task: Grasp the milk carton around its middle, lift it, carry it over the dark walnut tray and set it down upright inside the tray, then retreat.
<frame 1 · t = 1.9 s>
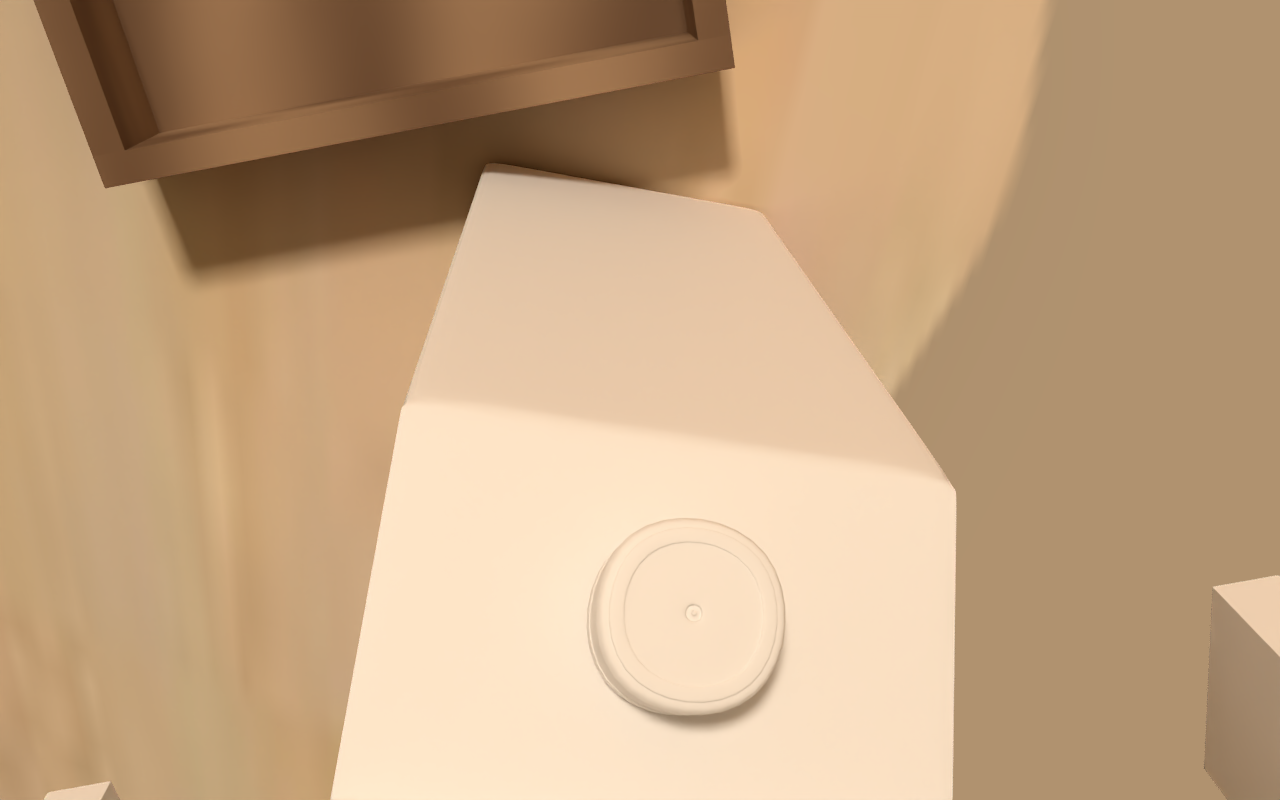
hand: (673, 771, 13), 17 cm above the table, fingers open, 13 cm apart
milk carton: (601, 314, 29), on the table
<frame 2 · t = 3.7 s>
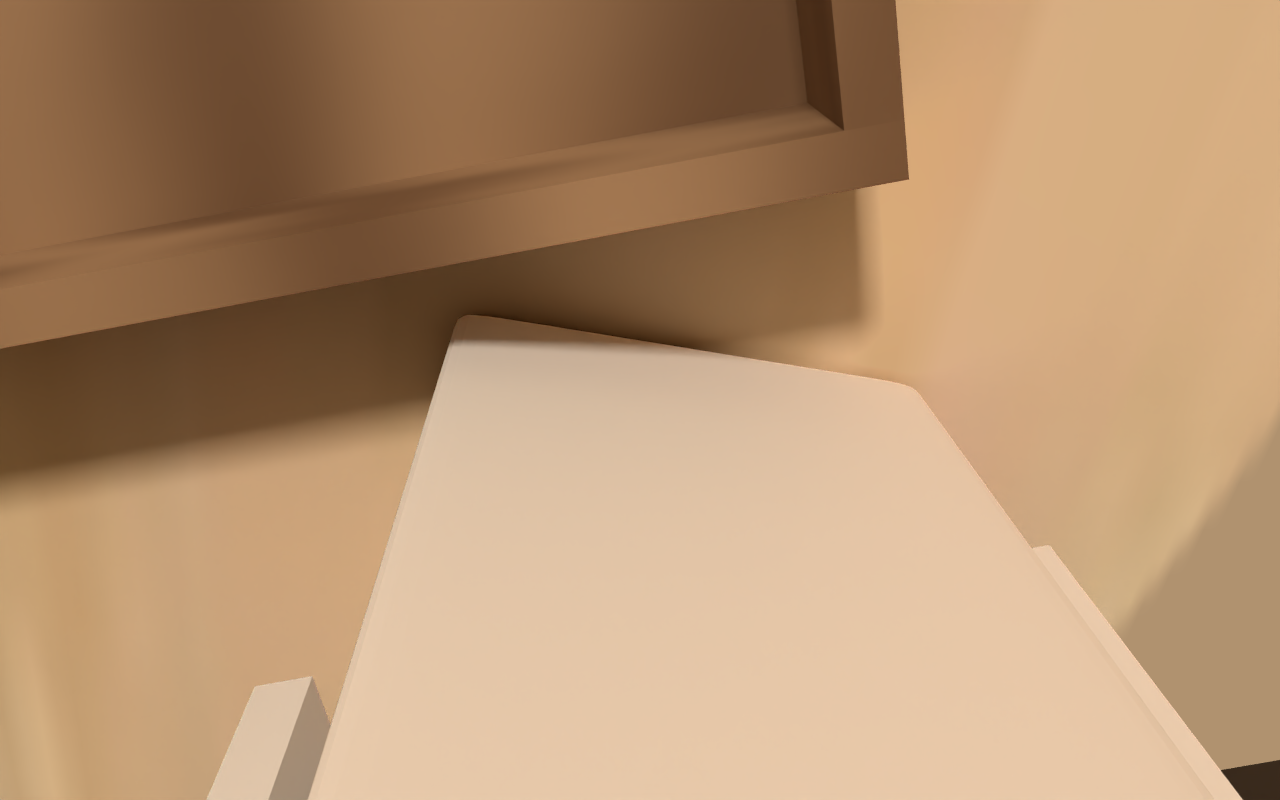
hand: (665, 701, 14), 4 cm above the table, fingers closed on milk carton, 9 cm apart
milk carton: (647, 537, 18), on the table, touching gripper
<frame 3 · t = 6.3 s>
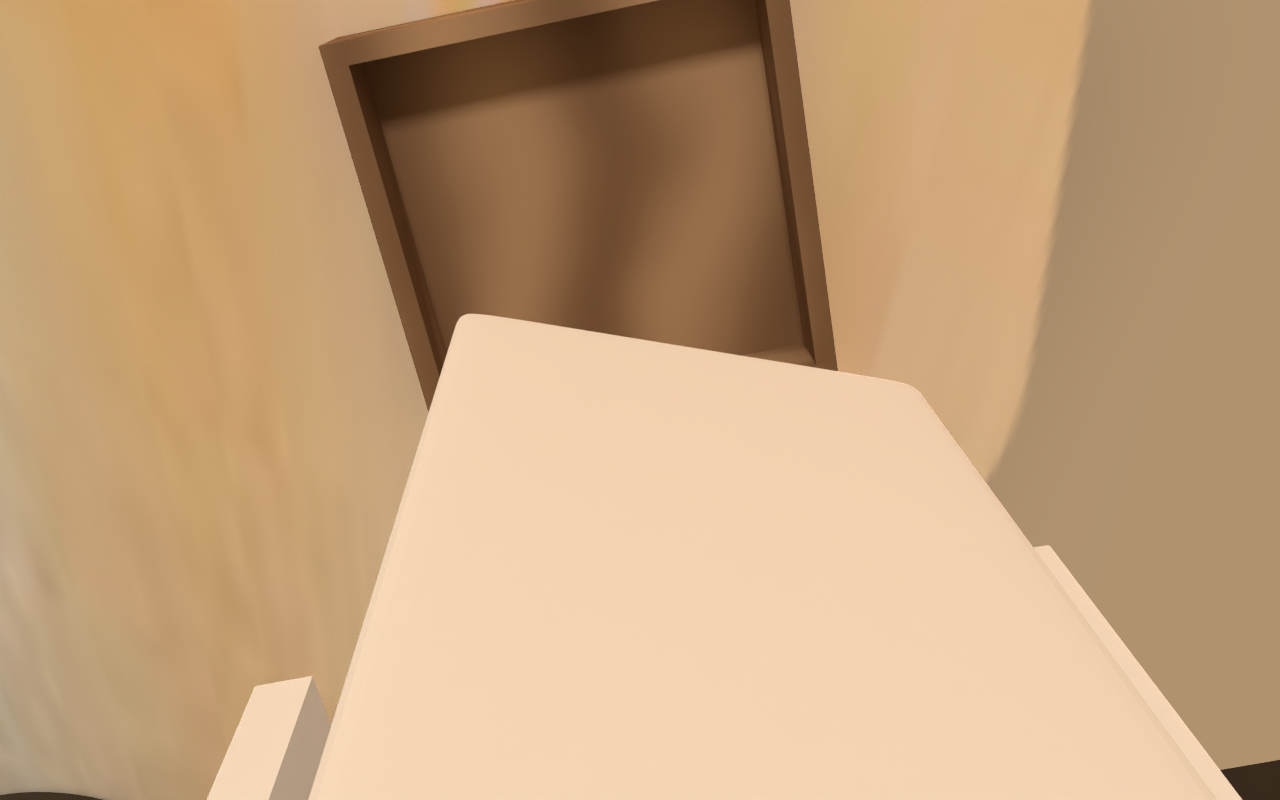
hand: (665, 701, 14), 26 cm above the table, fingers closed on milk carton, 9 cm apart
milk carton: (648, 536, 18), point 21 cm above the table, touching gripper
tray: (596, 205, 37), on the table
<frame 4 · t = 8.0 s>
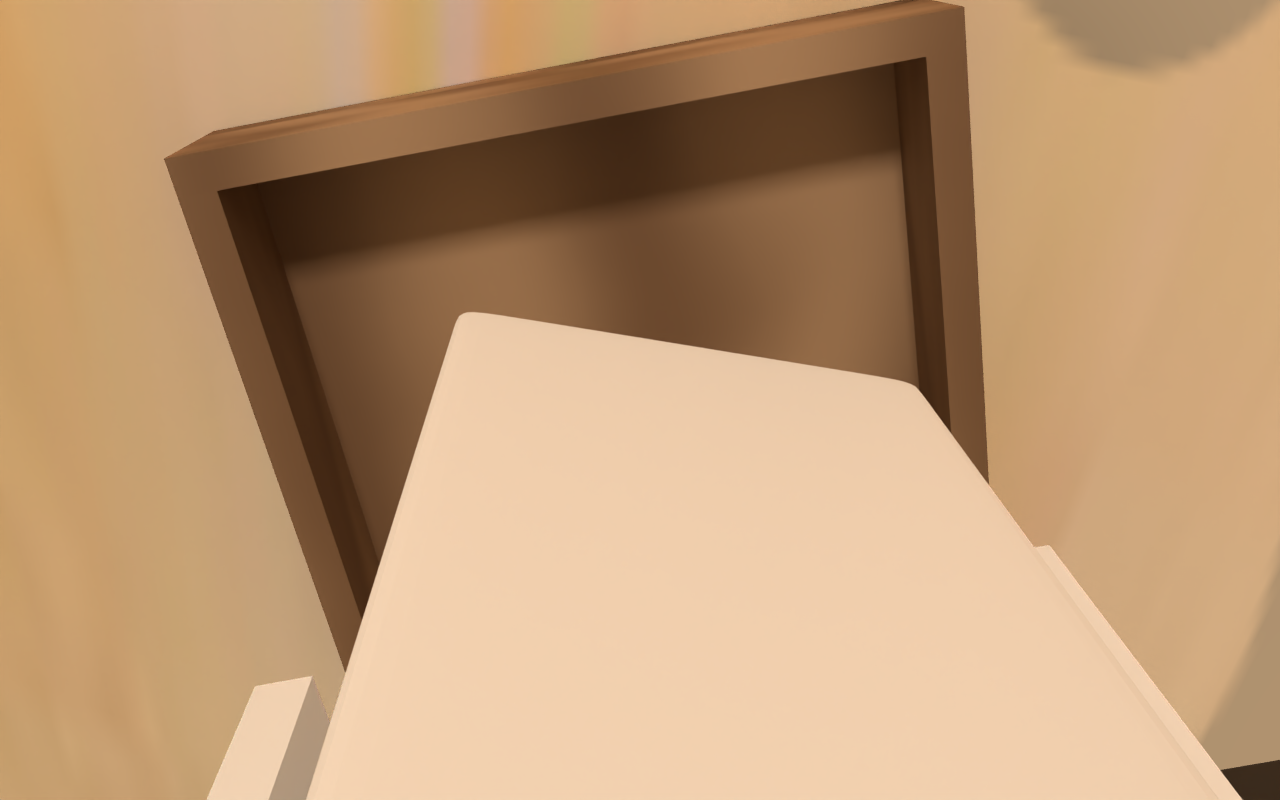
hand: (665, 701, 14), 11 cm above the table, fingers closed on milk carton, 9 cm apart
milk carton: (648, 535, 18), point 7 cm above the table, touching gripper
tray: (626, 388, 24), on the table
when the fingers open (6 cm above the table, at t = 9.2 s): milk carton drops 1 cm, resting on tray.
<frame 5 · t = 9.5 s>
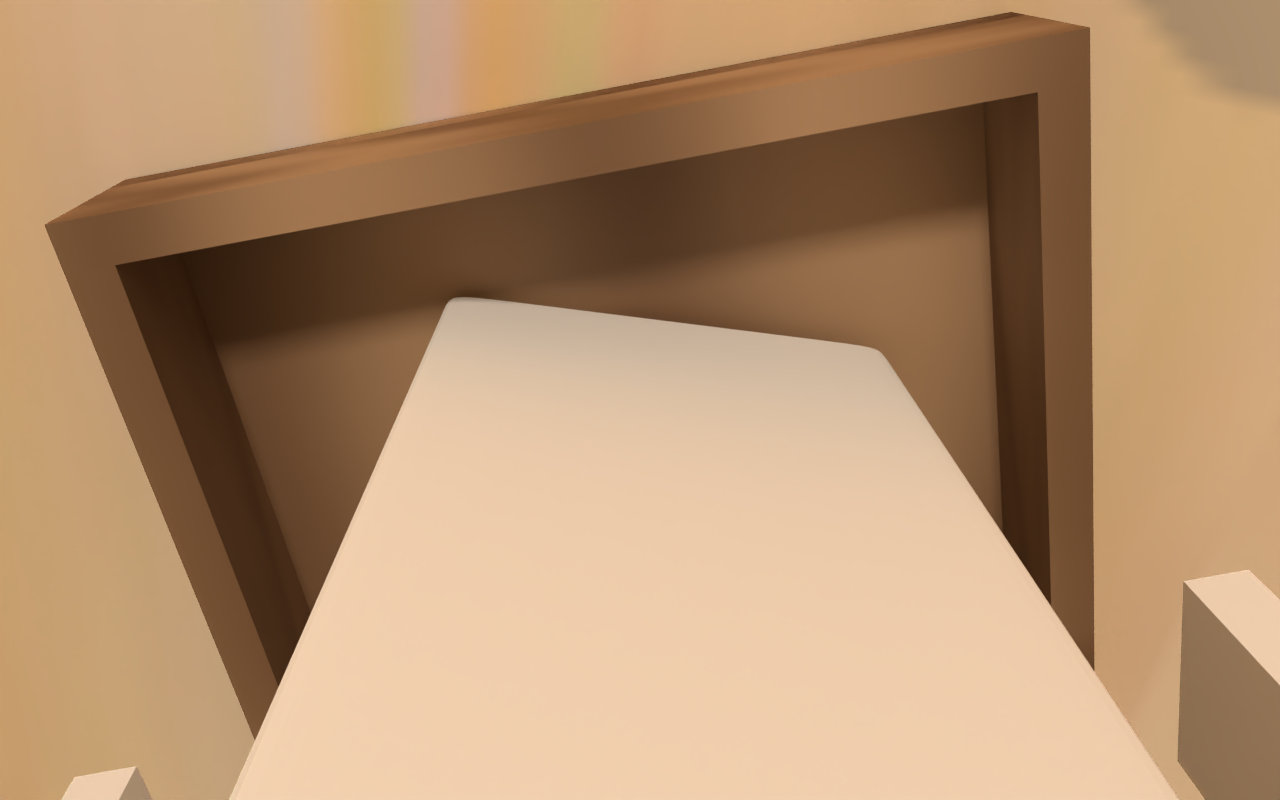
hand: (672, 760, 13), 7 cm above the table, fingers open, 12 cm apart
milk carton: (638, 502, 19), point 1 cm above the table, touching tray
tray: (641, 487, 20), on the table
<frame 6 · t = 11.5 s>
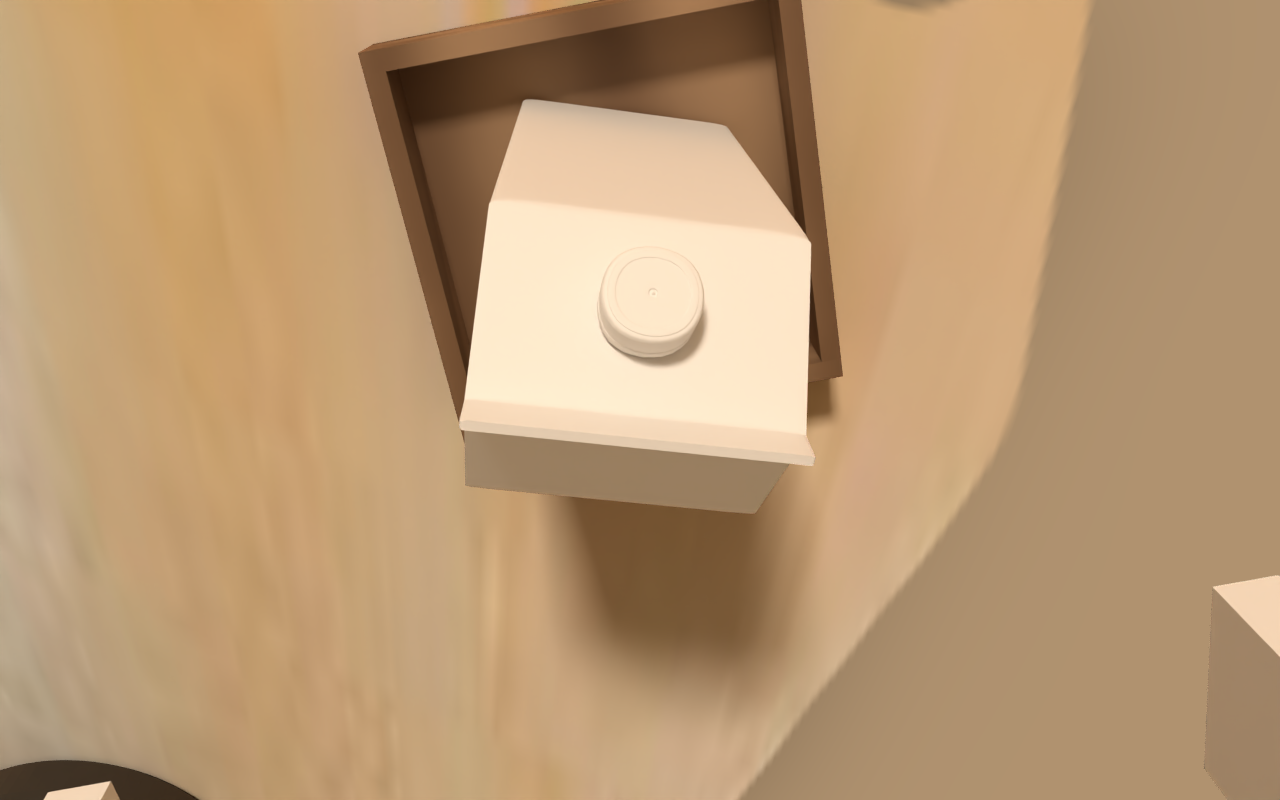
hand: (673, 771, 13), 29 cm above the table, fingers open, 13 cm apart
milk carton: (613, 209, 39), resting on tray
tray: (615, 206, 39), on the table
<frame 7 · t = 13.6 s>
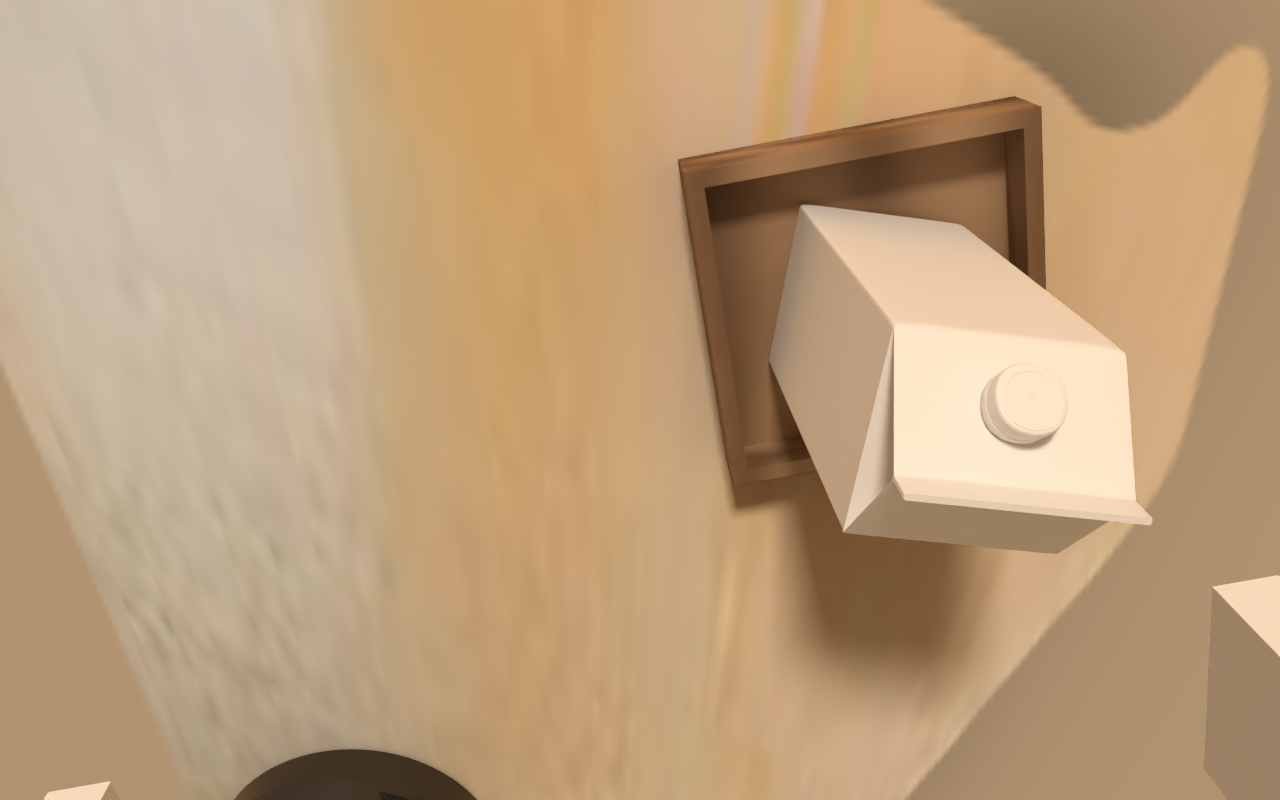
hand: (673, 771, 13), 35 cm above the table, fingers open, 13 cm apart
milk carton: (861, 291, 47), resting on tray
tray: (861, 288, 47), on the table
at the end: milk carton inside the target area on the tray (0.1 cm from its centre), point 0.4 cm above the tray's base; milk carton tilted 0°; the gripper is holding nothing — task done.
